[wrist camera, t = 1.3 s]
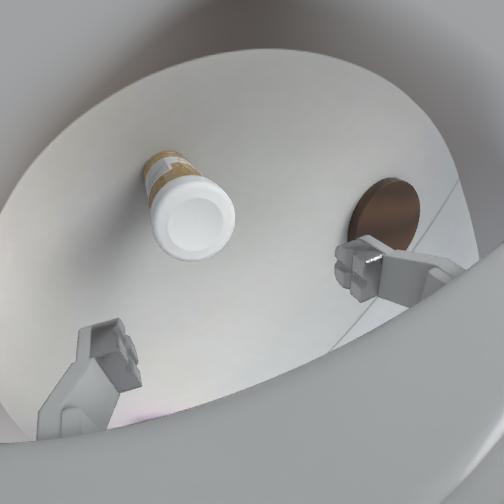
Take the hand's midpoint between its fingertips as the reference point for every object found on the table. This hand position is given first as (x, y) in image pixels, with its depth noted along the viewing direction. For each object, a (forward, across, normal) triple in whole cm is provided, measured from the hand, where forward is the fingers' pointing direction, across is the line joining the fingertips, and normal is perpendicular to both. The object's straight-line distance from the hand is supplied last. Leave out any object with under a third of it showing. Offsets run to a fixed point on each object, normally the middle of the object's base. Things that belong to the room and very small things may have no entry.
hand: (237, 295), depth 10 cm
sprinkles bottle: (+20, 0, 0) cm, 20 cm away
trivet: (+20, -28, +13) cm, 37 cm away
